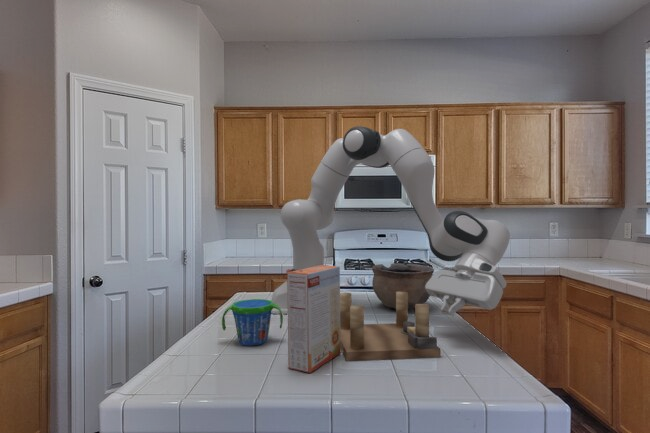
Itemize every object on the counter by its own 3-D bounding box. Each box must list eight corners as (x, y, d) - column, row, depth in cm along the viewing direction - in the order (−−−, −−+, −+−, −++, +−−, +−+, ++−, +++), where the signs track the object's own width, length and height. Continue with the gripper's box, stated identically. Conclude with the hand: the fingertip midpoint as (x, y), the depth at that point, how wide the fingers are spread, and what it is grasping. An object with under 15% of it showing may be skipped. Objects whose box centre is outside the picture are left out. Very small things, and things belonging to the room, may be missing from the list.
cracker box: (320, 349, 93) (320, 264, 93) (341, 353, 90) (341, 265, 90) (285, 368, 81) (285, 270, 81) (309, 374, 78) (309, 272, 78)
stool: (346, 361, 85) (346, 310, 85) (333, 332, 107) (333, 292, 107) (440, 357, 87) (440, 307, 87) (408, 329, 109) (408, 290, 109)
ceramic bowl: (419, 300, 149) (418, 262, 150) (445, 313, 128) (445, 269, 128) (364, 302, 146) (364, 263, 146) (383, 316, 124) (382, 271, 124)
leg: (401, 329, 101) (401, 295, 101) (413, 328, 102) (413, 295, 102) (418, 345, 88) (417, 306, 88) (431, 344, 89) (431, 306, 89)
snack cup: (216, 348, 93) (217, 307, 93) (228, 335, 104) (228, 298, 104) (280, 349, 93) (280, 307, 93) (285, 336, 103) (285, 298, 104)
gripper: (435, 259, 107) (410, 297, 102) (502, 268, 90) (475, 314, 85) (446, 274, 109) (421, 312, 104) (513, 285, 92) (487, 331, 87)
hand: (446, 313), depth 94 cm, fingers closed
